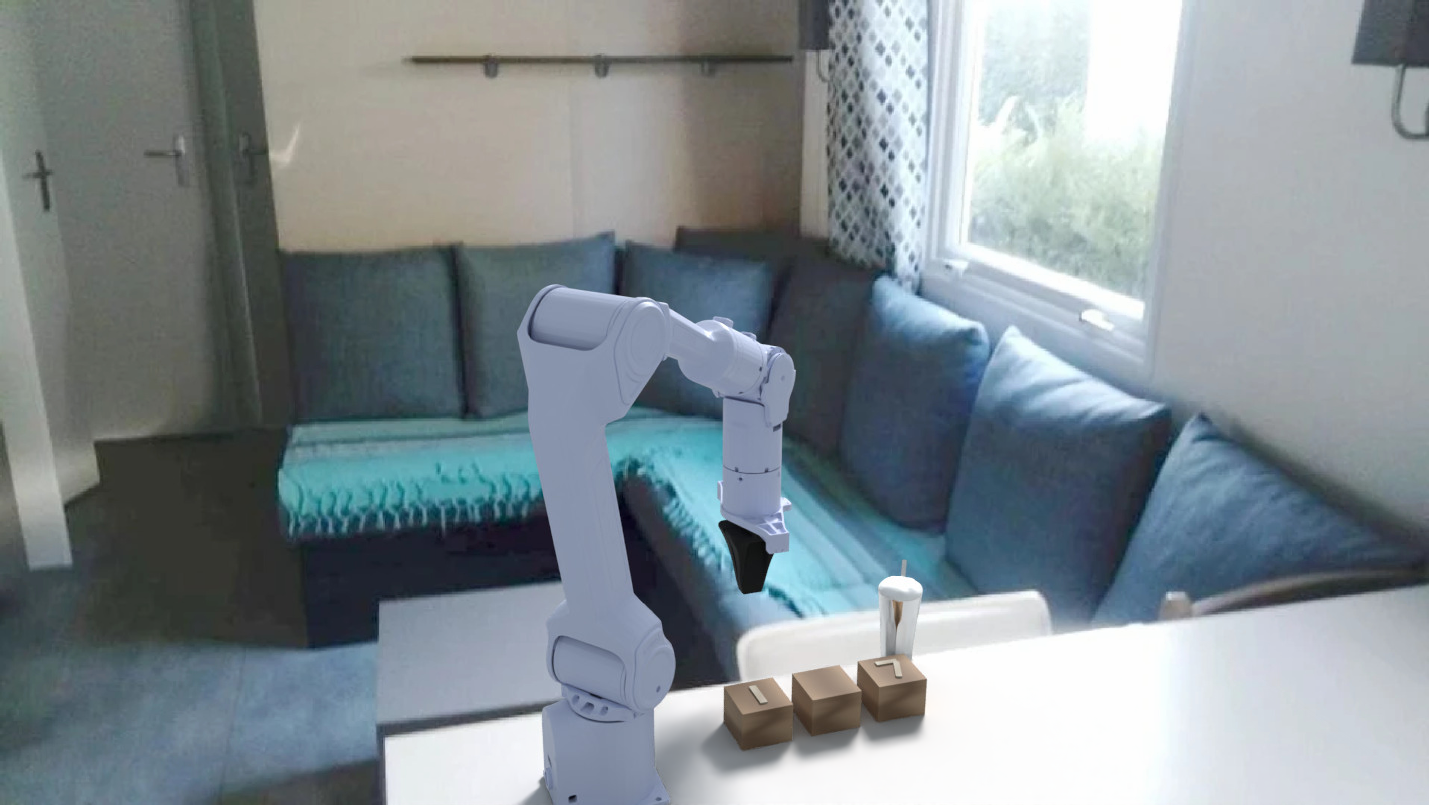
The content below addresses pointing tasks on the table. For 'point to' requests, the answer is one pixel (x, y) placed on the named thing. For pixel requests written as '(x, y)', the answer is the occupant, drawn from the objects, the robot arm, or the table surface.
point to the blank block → (826, 700)
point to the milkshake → (898, 613)
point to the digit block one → (758, 713)
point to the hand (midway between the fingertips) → (750, 590)
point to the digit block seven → (891, 687)
